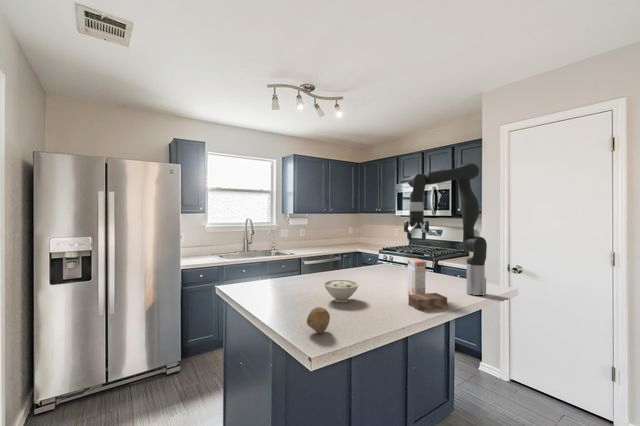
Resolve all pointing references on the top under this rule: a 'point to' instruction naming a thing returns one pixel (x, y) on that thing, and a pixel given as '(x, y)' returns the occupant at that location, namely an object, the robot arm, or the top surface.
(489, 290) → the top surface
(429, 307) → the block
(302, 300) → the top surface
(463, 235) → the robot arm
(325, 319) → the brown round lump
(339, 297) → the bowl
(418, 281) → the cracker box
